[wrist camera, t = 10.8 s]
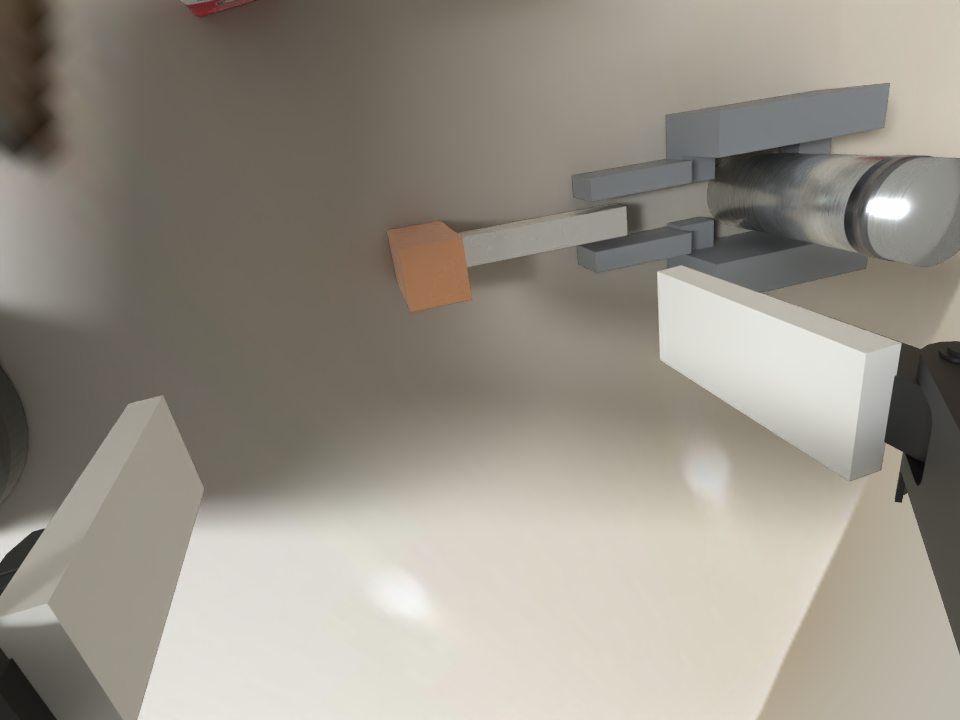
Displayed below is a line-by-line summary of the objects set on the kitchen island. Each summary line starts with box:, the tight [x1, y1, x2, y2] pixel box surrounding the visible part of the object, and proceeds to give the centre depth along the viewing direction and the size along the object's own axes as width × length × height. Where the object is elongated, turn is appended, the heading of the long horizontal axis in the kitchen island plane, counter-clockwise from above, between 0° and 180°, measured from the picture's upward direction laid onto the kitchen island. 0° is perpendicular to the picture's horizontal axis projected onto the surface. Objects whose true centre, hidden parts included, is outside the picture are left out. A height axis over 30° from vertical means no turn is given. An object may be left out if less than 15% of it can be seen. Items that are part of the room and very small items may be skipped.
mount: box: [572, 83, 890, 293], centre depth 33 cm, size 16×10×5 cm, turn 98°
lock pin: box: [387, 203, 627, 312], centre depth 30 cm, size 13×3×6 cm, turn 98°
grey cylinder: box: [707, 152, 960, 266], centre depth 29 cm, size 4×4×13 cm
